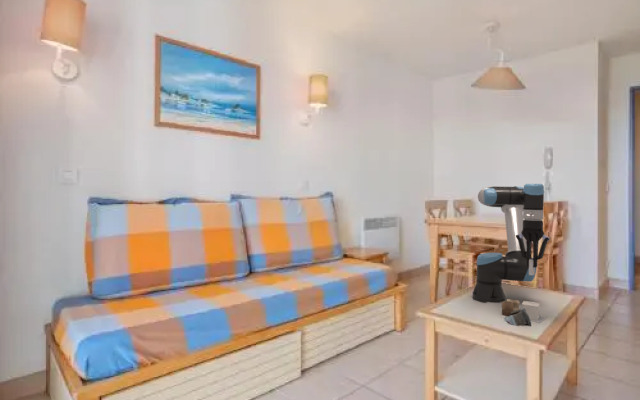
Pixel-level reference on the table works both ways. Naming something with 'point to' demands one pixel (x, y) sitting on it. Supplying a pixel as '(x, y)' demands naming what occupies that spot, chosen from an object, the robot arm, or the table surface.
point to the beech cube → (514, 304)
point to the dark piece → (518, 318)
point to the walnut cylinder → (507, 308)
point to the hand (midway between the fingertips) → (531, 274)
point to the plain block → (531, 309)
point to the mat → (539, 319)
